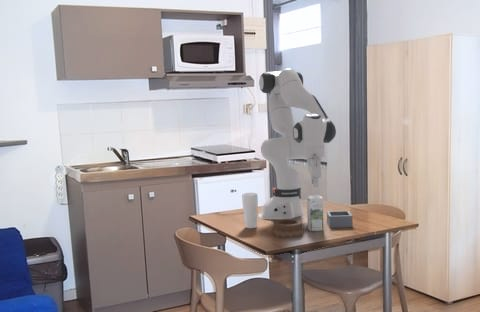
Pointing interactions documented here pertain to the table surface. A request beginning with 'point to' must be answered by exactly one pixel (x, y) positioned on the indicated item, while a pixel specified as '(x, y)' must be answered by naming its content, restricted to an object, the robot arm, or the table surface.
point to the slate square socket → (339, 219)
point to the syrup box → (315, 213)
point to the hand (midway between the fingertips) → (314, 185)
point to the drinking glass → (250, 209)
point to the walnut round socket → (288, 228)
